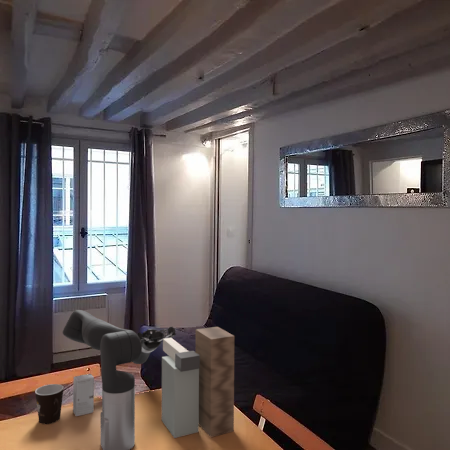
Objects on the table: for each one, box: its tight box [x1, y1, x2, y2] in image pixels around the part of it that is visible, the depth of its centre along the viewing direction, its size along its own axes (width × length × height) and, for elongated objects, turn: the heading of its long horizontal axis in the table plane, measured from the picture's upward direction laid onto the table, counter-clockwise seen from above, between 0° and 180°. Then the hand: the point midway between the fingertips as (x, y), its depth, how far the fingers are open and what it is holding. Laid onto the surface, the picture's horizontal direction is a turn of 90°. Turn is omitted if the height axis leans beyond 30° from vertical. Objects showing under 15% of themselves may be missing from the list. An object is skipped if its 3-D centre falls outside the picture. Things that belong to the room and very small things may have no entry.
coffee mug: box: [34, 383, 64, 425], centre depth 133 cm, size 12×9×10 cm
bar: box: [162, 337, 200, 372], centre depth 132 cm, size 6×21×4 cm, turn 27°
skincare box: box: [72, 373, 95, 417], centre depth 140 cm, size 6×4×12 cm
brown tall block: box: [194, 326, 235, 438], centre depth 131 cm, size 8×12×30 cm, turn 27°
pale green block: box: [161, 355, 200, 439], centre depth 131 cm, size 8×12×21 cm, turn 27°
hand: (160, 330), depth 148 cm, fingers open, 8 cm apart
